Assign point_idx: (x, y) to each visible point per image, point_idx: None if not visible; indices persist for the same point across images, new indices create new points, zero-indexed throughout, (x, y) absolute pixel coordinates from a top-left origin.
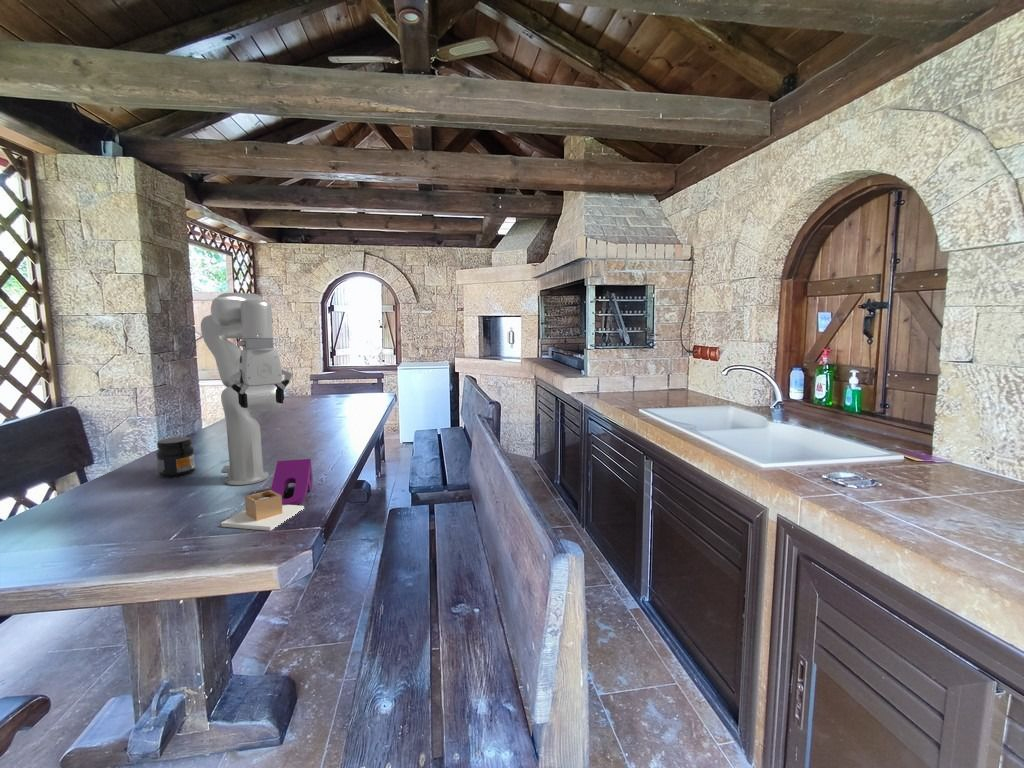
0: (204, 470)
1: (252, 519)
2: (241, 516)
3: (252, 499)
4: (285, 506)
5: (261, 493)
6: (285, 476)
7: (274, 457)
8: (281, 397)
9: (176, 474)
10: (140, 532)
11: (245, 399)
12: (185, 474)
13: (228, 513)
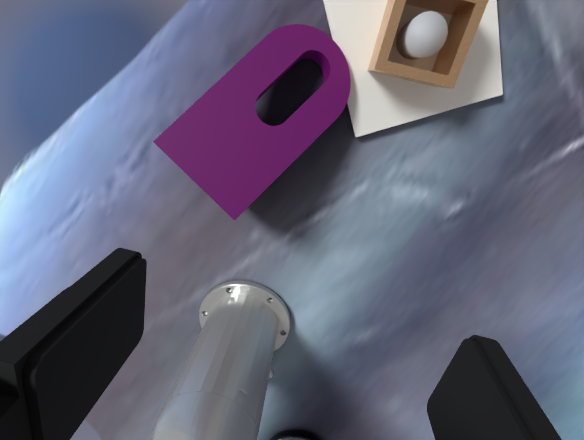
0: None
1: None
2: None
3: (470, 33)
4: (346, 36)
5: (409, 67)
6: (266, 138)
7: (123, 385)
8: (96, 285)
9: (312, 438)
10: (571, 233)
11: (540, 413)
12: (297, 430)
13: (421, 161)
